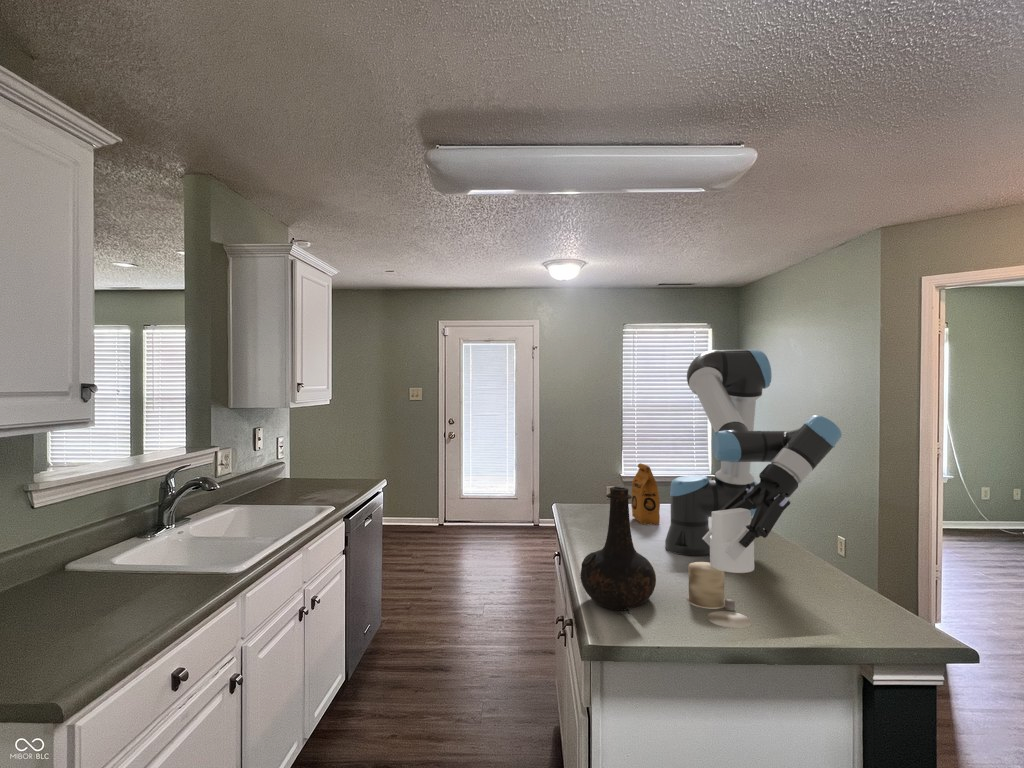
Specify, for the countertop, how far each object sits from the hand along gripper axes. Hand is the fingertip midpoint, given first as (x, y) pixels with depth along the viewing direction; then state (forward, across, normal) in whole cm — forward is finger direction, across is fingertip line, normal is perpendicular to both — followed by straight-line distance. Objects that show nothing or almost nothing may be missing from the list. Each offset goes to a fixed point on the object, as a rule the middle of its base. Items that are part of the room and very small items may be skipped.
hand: (717, 549), depth 119 cm
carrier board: (+8, +5, -16) cm, 19 cm away
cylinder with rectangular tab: (+1, 0, -5) cm, 5 cm away
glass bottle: (+24, +16, 0) cm, 29 cm away
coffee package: (-2, +93, -26) cm, 97 cm away
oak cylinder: (+9, +10, -13) cm, 19 cm away
